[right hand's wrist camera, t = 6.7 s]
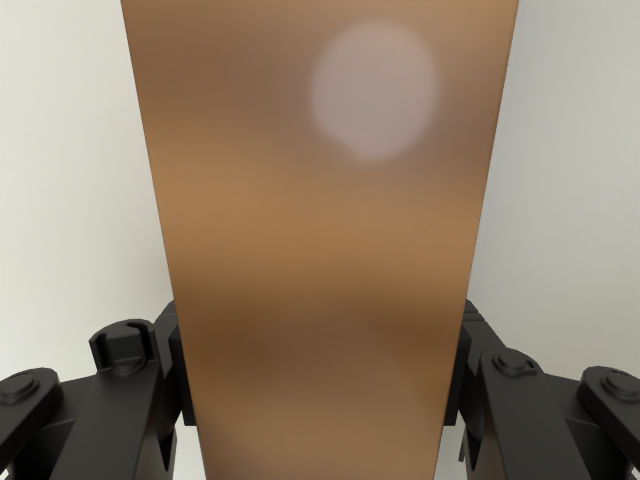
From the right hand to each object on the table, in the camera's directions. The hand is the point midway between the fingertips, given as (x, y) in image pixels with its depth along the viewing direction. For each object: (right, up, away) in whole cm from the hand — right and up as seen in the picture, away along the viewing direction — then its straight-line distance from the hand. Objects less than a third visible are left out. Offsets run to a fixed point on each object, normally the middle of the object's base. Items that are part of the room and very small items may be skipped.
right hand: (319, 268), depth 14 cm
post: (0, +22, -8) cm, 23 cm away
